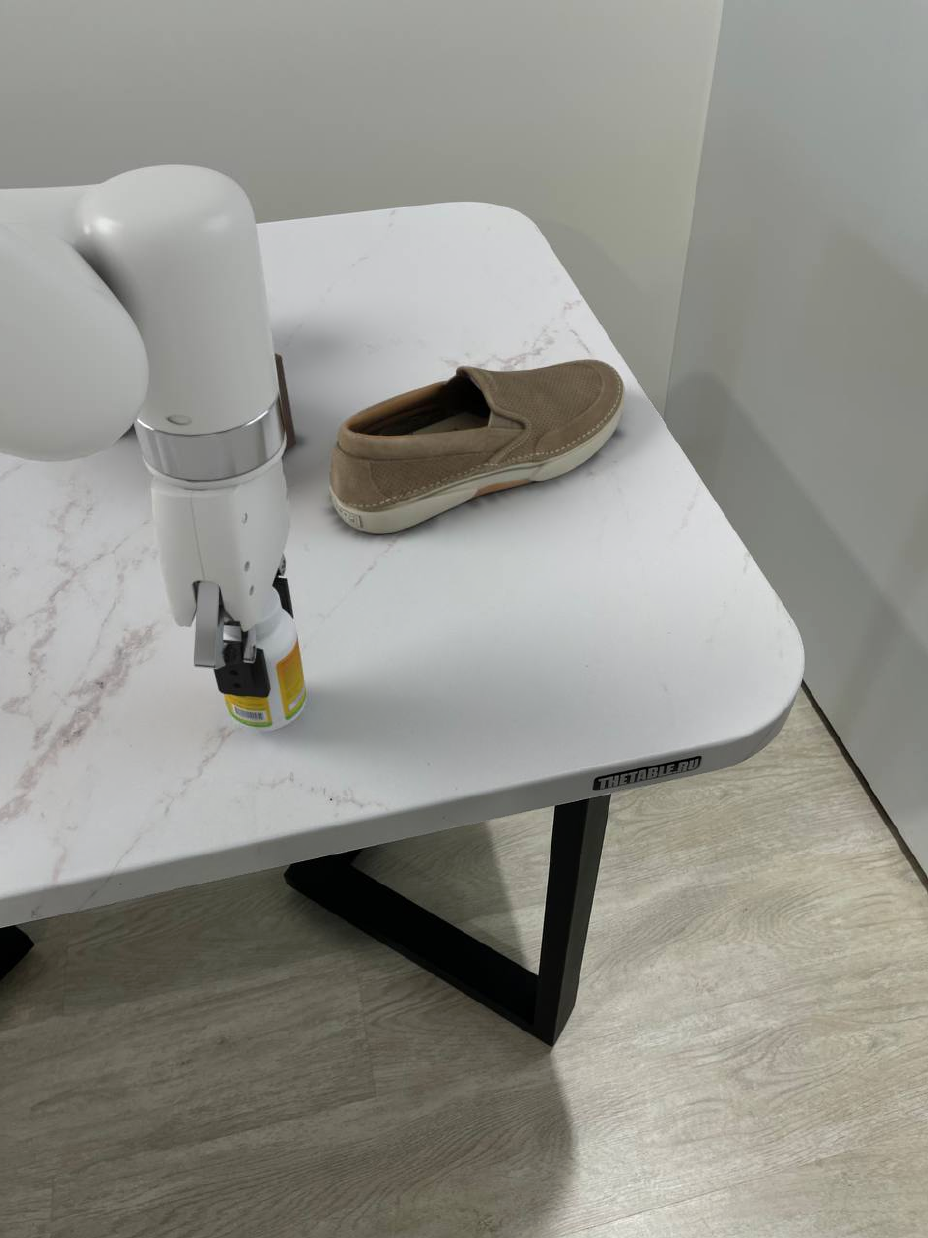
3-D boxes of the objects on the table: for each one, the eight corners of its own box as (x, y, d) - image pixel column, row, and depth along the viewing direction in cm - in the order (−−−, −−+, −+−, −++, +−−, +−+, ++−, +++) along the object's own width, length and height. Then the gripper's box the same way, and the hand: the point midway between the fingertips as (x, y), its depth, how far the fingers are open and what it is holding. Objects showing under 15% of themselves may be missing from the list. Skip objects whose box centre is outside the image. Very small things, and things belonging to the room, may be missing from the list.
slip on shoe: (585, 378, 98) (592, 293, 91) (658, 438, 91) (671, 351, 85) (306, 480, 88) (292, 393, 81) (365, 556, 81) (355, 467, 74)
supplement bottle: (291, 663, 72) (275, 561, 65) (318, 717, 68) (303, 616, 61) (217, 688, 70) (192, 586, 63) (241, 744, 67) (217, 644, 60)
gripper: (189, 333, 59) (236, 562, 72) (79, 524, 47) (159, 757, 60) (316, 341, 58) (340, 571, 71) (237, 537, 46) (283, 769, 60)
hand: (257, 654), depth 66 cm, fingers closed on supplement bottle, 5 cm apart
